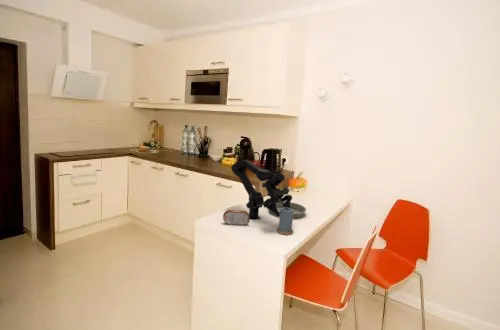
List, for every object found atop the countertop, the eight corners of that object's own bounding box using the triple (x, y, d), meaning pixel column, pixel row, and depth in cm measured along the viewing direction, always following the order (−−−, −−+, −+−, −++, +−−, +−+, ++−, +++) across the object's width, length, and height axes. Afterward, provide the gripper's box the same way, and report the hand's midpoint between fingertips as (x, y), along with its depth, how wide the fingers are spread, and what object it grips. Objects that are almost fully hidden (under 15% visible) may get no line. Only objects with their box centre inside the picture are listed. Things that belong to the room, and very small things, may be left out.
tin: (249, 224, 166) (250, 210, 165) (249, 226, 163) (250, 212, 161) (222, 222, 165) (223, 208, 164) (222, 224, 162) (223, 210, 161)
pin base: (274, 228, 161) (274, 219, 161) (288, 228, 164) (289, 219, 163) (280, 235, 153) (281, 226, 152) (295, 234, 156) (296, 225, 155)
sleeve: (278, 229, 159) (280, 208, 157) (284, 227, 162) (286, 207, 160) (285, 232, 155) (287, 211, 153) (291, 230, 158) (293, 210, 156)
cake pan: (275, 220, 176) (276, 213, 175) (263, 207, 199) (263, 201, 198) (312, 219, 182) (313, 212, 182) (296, 207, 206) (296, 201, 205)
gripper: (268, 184, 153) (281, 210, 147) (291, 181, 165) (304, 205, 159) (257, 194, 160) (269, 220, 154) (280, 190, 172) (292, 214, 166)
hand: (284, 214), depth 158 cm, fingers open, 9 cm apart
